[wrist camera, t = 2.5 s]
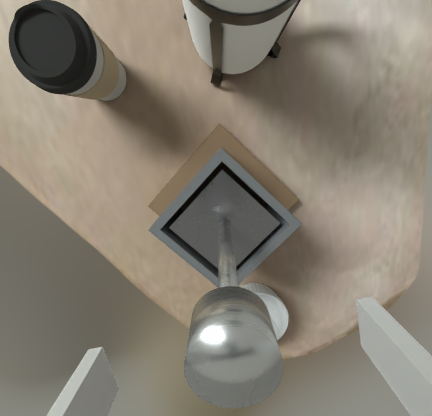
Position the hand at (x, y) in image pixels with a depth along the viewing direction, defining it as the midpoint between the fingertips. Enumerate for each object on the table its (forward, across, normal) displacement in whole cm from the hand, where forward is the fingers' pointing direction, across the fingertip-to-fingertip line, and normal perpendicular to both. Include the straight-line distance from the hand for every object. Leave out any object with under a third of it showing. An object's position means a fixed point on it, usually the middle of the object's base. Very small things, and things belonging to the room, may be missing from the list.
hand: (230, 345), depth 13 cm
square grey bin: (+33, 0, 0) cm, 33 cm away
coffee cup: (+33, -14, +24) cm, 43 cm away
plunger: (+20, 0, 0) cm, 20 cm away
